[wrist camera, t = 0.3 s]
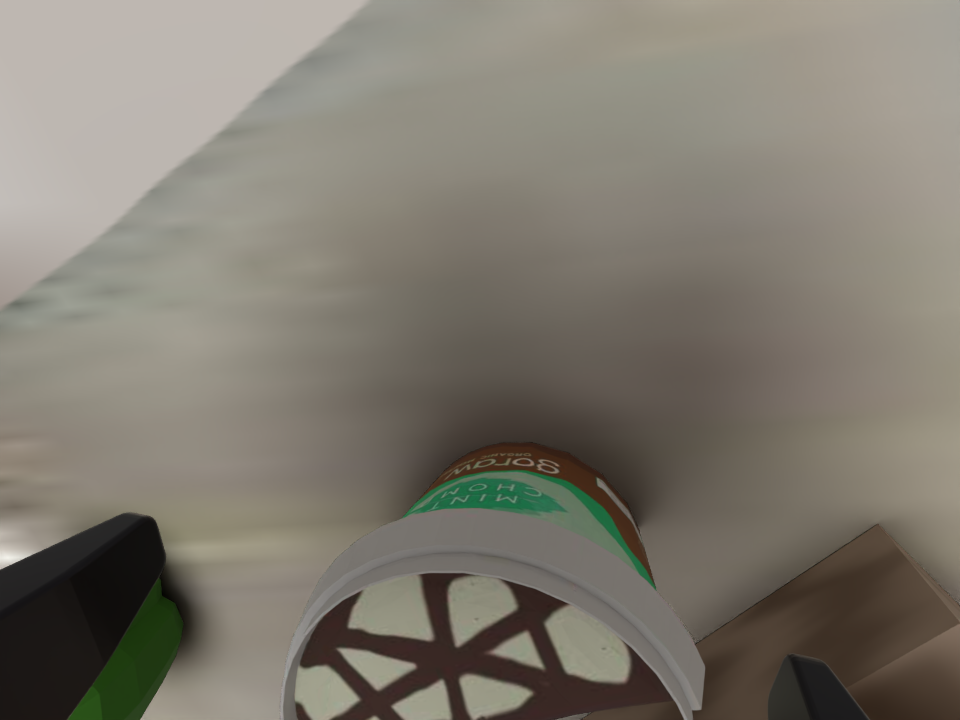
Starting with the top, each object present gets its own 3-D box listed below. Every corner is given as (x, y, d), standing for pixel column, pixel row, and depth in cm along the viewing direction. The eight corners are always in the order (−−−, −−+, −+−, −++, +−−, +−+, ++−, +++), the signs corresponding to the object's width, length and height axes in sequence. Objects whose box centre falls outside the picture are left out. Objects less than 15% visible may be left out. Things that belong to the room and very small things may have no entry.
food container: (626, 373, 23) (634, 494, 13) (676, 519, 23) (717, 730, 14) (345, 458, 26) (190, 602, 17) (399, 582, 27) (282, 786, 17)
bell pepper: (38, 554, 31) (-213, 704, 22) (152, 505, 29) (-74, 650, 19) (119, 688, 32) (-86, 886, 23) (236, 651, 30) (61, 856, 21)
